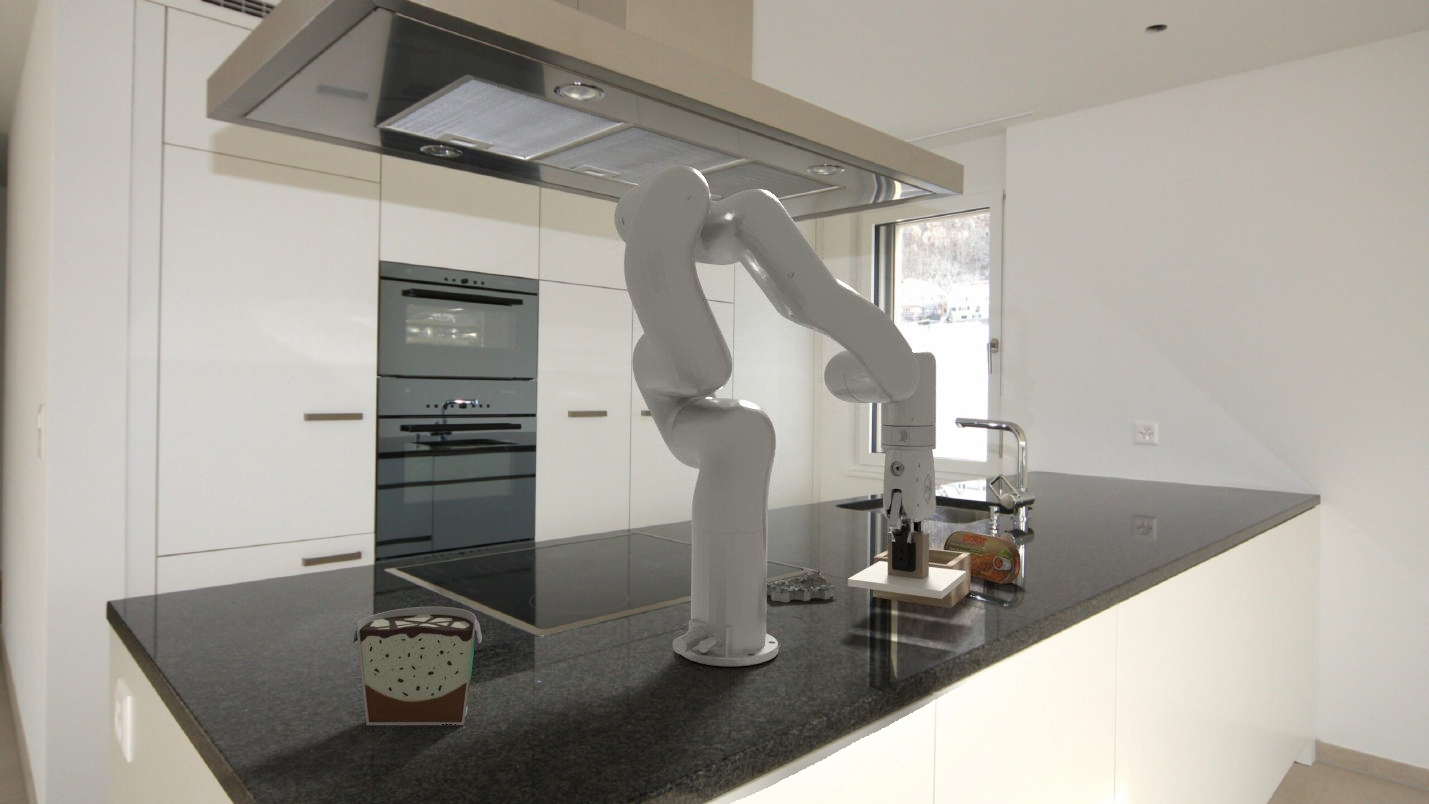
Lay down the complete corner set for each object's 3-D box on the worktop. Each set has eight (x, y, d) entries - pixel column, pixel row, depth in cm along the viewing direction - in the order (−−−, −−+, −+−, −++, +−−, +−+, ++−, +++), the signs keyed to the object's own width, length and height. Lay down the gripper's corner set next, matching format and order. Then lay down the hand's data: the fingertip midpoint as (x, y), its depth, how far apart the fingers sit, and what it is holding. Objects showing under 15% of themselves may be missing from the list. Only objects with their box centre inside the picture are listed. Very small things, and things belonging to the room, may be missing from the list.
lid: (941, 598, 105) (941, 545, 104) (847, 585, 111) (847, 535, 111) (966, 578, 116) (966, 529, 116) (879, 567, 122) (879, 521, 122)
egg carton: (821, 594, 131) (822, 569, 131) (839, 606, 123) (840, 580, 123) (758, 597, 128) (759, 571, 128) (773, 609, 121) (773, 582, 121)
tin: (941, 573, 146) (942, 527, 146) (953, 571, 147) (954, 526, 147) (1010, 591, 133) (1011, 541, 133) (1023, 589, 135) (1024, 539, 134)
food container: (494, 700, 84) (495, 605, 84) (479, 725, 78) (480, 622, 78) (375, 700, 84) (376, 604, 83) (350, 725, 77) (351, 621, 77)
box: (950, 613, 119) (951, 566, 119) (872, 601, 125) (873, 557, 125) (970, 596, 129) (970, 553, 129) (897, 586, 136) (898, 544, 135)
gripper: (917, 442, 104) (916, 583, 105) (950, 435, 118) (949, 560, 119) (862, 440, 108) (861, 576, 108) (900, 434, 122) (900, 554, 122)
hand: (907, 566), depth 113 cm, fingers closed on lid, 3 cm apart
